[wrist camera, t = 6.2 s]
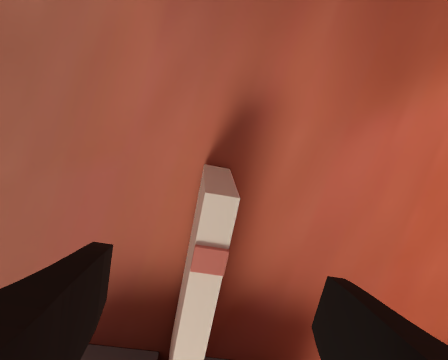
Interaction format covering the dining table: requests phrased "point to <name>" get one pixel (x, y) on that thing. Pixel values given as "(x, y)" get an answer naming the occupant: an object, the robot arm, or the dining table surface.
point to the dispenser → (121, 354)
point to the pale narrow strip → (204, 263)
